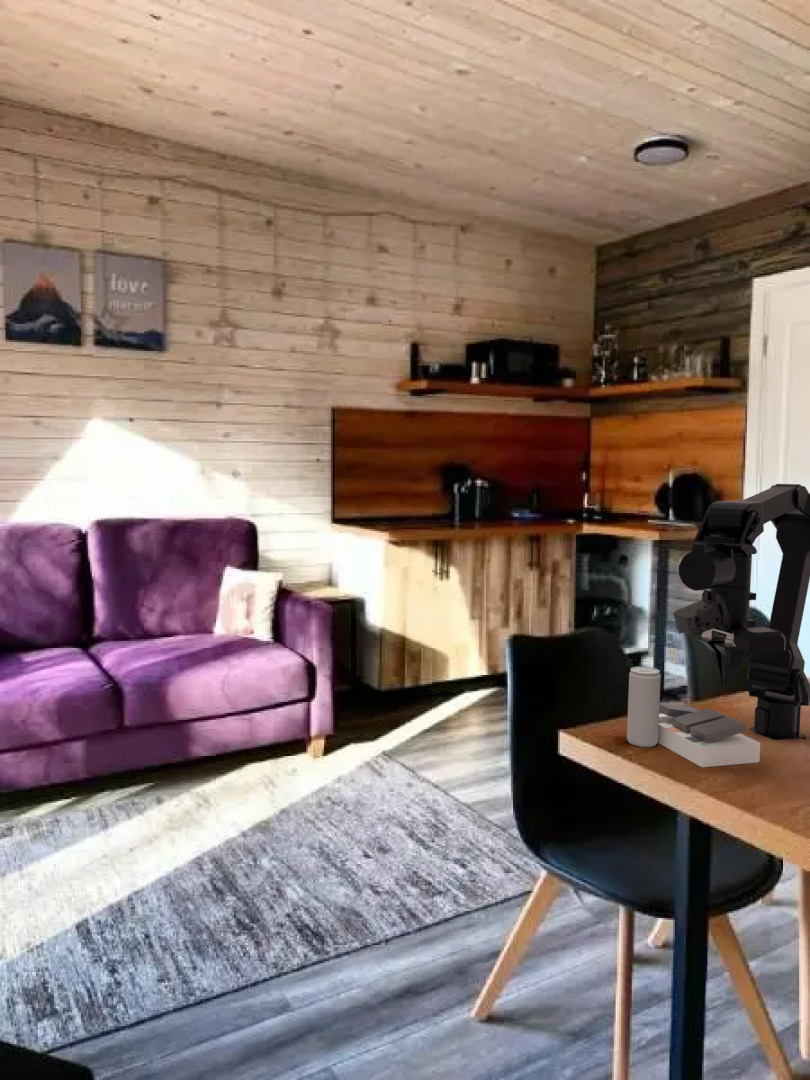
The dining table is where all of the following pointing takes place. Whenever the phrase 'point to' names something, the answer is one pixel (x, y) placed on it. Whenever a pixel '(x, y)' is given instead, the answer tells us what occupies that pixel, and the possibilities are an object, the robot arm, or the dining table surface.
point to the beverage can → (643, 706)
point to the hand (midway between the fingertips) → (725, 686)
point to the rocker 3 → (717, 729)
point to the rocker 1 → (675, 709)
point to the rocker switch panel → (707, 746)
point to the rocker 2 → (696, 719)
